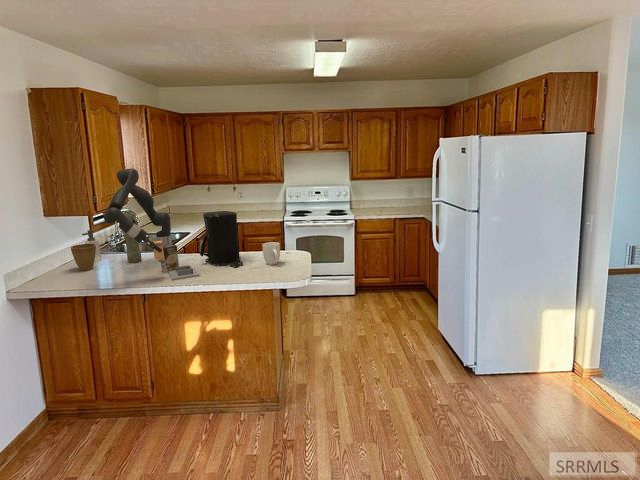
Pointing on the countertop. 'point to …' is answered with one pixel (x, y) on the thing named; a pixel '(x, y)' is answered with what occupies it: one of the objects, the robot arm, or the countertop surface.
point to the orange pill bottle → (156, 253)
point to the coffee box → (169, 258)
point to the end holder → (183, 272)
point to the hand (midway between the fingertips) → (160, 250)
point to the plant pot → (84, 256)
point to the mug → (271, 252)
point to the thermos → (132, 242)
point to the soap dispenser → (92, 241)
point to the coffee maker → (221, 239)
